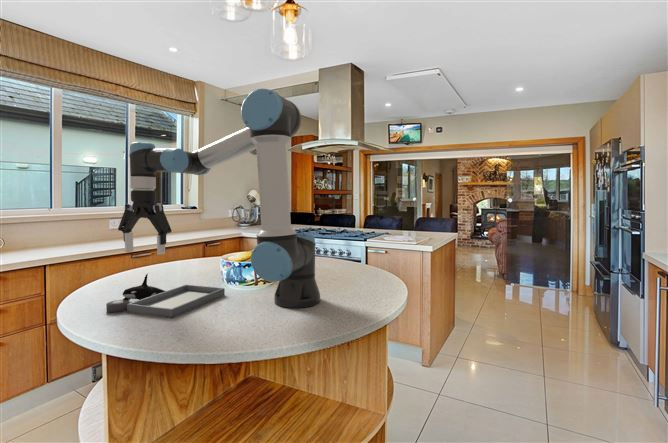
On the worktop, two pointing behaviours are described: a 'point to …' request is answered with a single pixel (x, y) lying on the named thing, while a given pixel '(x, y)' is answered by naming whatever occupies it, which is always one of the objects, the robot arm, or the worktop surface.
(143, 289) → the toy
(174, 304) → the frame
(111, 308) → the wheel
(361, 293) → the worktop surface
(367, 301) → the worktop surface
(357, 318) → the worktop surface
